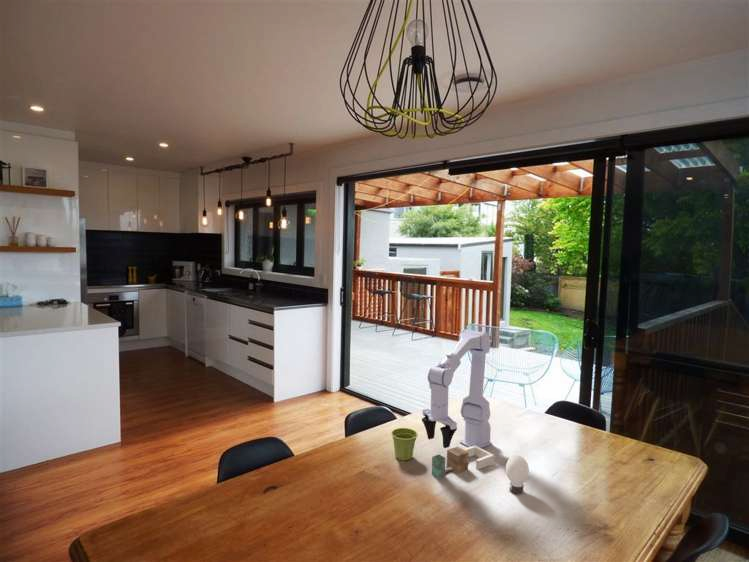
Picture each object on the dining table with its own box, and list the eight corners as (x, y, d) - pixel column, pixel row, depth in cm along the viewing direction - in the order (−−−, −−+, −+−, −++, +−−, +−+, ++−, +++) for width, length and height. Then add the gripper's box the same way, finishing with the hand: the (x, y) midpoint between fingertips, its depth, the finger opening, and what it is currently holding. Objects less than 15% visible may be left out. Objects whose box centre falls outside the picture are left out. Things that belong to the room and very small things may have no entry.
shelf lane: (474, 453, 160) (475, 445, 160) (494, 463, 152) (494, 455, 152) (459, 458, 156) (459, 450, 155) (478, 469, 148) (478, 460, 148)
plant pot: (417, 451, 161) (417, 428, 160) (417, 464, 151) (417, 439, 151) (391, 450, 162) (392, 427, 161) (390, 462, 152) (390, 438, 152)
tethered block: (457, 463, 152) (457, 446, 152) (467, 469, 148) (468, 452, 148) (429, 472, 145) (430, 455, 145) (440, 479, 141) (440, 461, 141)
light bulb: (512, 497, 131) (513, 462, 131) (501, 485, 138) (502, 452, 137) (532, 495, 133) (533, 460, 132) (520, 483, 139) (521, 450, 139)
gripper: (416, 398, 150) (415, 437, 151) (445, 412, 138) (444, 454, 139) (431, 395, 153) (431, 432, 155) (461, 408, 141) (460, 448, 143)
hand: (438, 442), depth 147 cm, fingers open, 7 cm apart
